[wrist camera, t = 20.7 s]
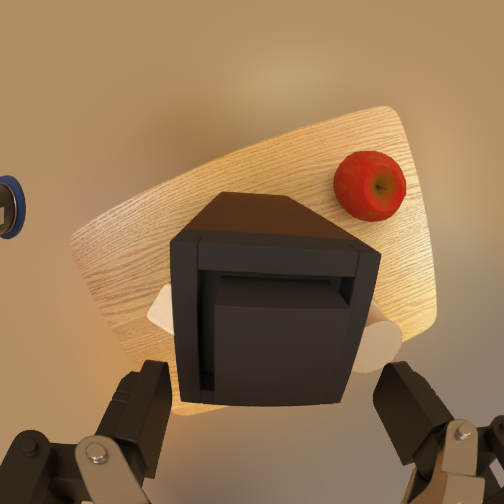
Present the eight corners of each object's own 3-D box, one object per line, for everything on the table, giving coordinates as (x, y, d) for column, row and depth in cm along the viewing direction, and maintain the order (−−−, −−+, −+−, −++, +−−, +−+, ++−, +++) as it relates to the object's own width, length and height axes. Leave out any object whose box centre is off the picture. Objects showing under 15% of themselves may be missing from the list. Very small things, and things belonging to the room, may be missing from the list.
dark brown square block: (218, 362, 14) (214, 403, 11) (220, 274, 12) (214, 305, 10) (312, 364, 14) (325, 402, 11) (329, 279, 13) (351, 309, 10)
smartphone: (166, 281, 38) (252, 335, 41) (167, 280, 39) (252, 333, 42) (144, 317, 40) (225, 366, 42) (146, 315, 40) (226, 363, 43)
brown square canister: (218, 255, 38) (180, 402, 13) (221, 191, 36) (169, 241, 10) (281, 258, 39) (340, 403, 13) (287, 196, 36) (382, 253, 11)
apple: (365, 144, 34) (405, 138, 24) (384, 200, 37) (427, 212, 26) (311, 164, 35) (338, 163, 25) (333, 222, 37) (365, 242, 27)
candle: (331, 320, 42) (365, 382, 27) (303, 292, 40) (332, 354, 26) (364, 290, 41) (412, 342, 26) (338, 260, 39) (384, 308, 25)
